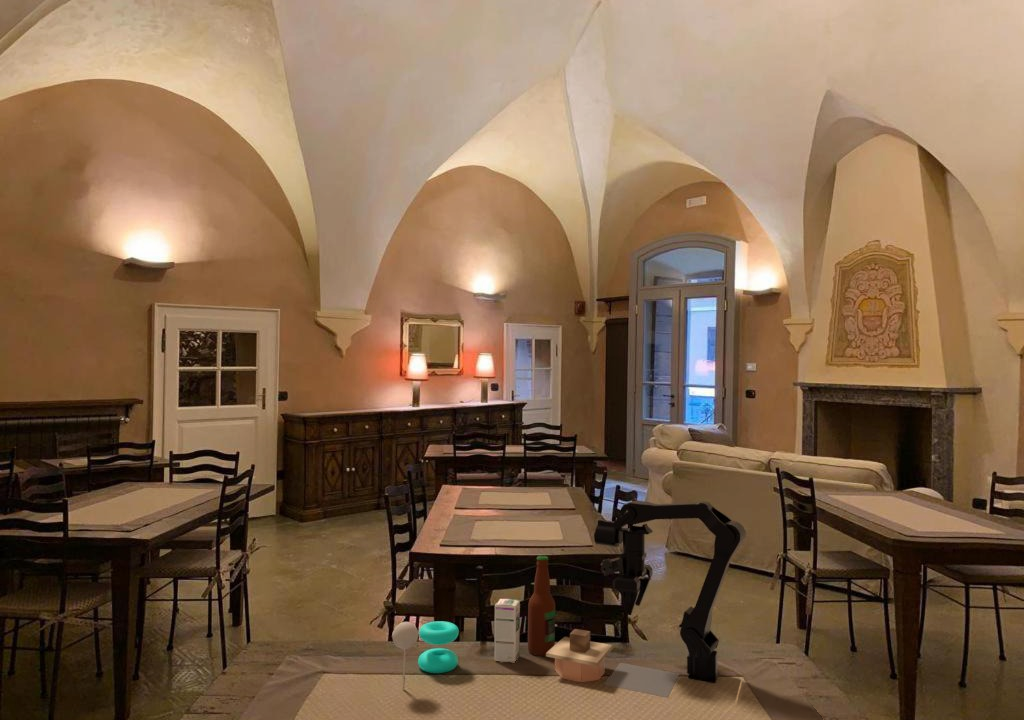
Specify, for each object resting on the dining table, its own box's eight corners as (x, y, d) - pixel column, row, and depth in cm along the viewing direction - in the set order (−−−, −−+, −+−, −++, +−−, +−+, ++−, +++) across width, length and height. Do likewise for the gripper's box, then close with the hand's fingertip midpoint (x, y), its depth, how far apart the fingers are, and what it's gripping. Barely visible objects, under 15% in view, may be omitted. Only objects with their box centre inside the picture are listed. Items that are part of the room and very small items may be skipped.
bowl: (608, 669, 159) (608, 648, 160) (594, 686, 149) (594, 664, 149) (565, 661, 164) (566, 641, 164) (549, 677, 154) (550, 655, 154)
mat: (679, 675, 156) (679, 673, 156) (667, 699, 143) (667, 697, 143) (620, 664, 163) (620, 662, 163) (603, 686, 149) (603, 684, 149)
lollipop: (421, 686, 147) (423, 620, 148) (409, 697, 141) (411, 628, 143) (397, 682, 149) (400, 616, 150) (385, 692, 143) (387, 624, 145)
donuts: (466, 624, 161) (441, 635, 152) (465, 665, 160) (439, 678, 152) (437, 617, 166) (410, 627, 158) (436, 656, 165) (409, 668, 157)
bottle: (555, 657, 167) (556, 560, 169) (527, 656, 167) (529, 559, 169) (553, 646, 174) (555, 554, 176) (527, 646, 174) (529, 553, 176)
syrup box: (515, 664, 161) (516, 605, 163) (493, 661, 163) (494, 603, 164) (519, 655, 167) (520, 599, 168) (498, 653, 168) (499, 597, 169)
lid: (612, 648, 160) (612, 628, 160) (597, 666, 148) (597, 645, 149) (564, 639, 165) (564, 620, 166) (545, 656, 154) (546, 636, 154)
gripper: (613, 540, 179) (613, 596, 178) (593, 552, 162) (593, 615, 161) (653, 544, 174) (652, 602, 173) (636, 557, 158) (636, 622, 156)
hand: (633, 610), depth 166 cm, fingers open, 9 cm apart
